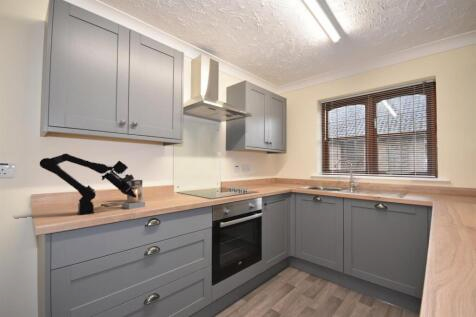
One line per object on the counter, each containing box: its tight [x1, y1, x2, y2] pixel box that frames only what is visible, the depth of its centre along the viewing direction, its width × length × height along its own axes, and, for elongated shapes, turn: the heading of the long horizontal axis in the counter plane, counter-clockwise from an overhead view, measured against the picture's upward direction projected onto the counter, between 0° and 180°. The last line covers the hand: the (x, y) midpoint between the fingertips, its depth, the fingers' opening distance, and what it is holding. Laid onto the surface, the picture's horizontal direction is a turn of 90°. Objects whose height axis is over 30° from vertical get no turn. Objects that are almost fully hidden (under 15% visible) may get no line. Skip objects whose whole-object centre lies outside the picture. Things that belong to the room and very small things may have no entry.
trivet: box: [100, 201, 122, 208], centre depth 151 cm, size 12×12×2 cm
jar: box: [128, 186, 139, 204], centre depth 142 cm, size 6×6×13 cm
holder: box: [121, 200, 146, 210], centre depth 141 cm, size 10×10×4 cm
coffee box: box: [126, 179, 143, 202], centre depth 174 cm, size 9×6×16 cm
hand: (134, 196), depth 142 cm, fingers open, 9 cm apart
